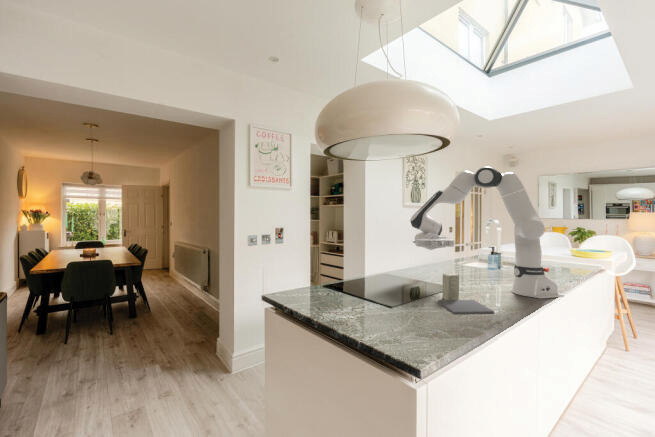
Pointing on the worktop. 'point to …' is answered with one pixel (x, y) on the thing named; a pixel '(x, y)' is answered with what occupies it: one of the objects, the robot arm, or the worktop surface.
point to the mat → (464, 307)
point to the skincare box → (451, 286)
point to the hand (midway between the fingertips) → (440, 244)
